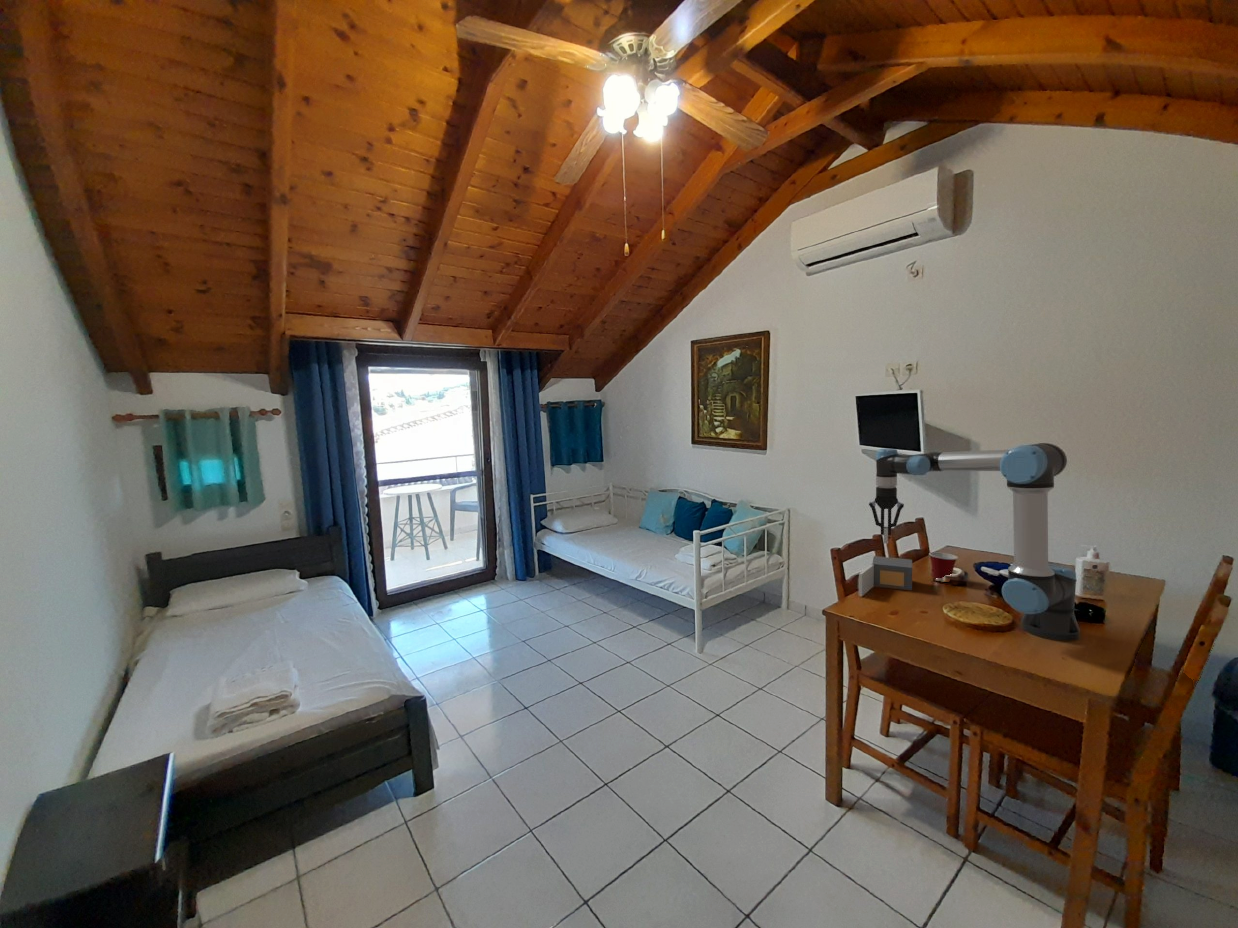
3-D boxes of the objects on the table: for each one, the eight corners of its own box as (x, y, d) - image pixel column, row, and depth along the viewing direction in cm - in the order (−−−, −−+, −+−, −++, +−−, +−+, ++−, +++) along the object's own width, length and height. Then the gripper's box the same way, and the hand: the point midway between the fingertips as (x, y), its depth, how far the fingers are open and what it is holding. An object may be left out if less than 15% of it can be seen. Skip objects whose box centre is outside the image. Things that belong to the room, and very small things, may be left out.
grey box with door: (911, 590, 209) (912, 567, 208) (872, 586, 217) (872, 563, 215) (911, 580, 221) (911, 558, 220) (873, 576, 229) (873, 555, 227)
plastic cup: (963, 583, 215) (964, 556, 214) (942, 586, 213) (943, 559, 211) (942, 575, 226) (942, 549, 224) (922, 578, 223) (922, 552, 222)
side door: (857, 595, 206) (857, 573, 205) (869, 584, 217) (869, 563, 216) (861, 596, 205) (861, 574, 204) (873, 585, 216) (874, 564, 215)
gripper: (904, 485, 203) (903, 541, 206) (869, 484, 210) (868, 539, 212) (904, 488, 197) (904, 546, 199) (868, 487, 203) (867, 543, 206)
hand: (885, 542), depth 206 cm, fingers closed
